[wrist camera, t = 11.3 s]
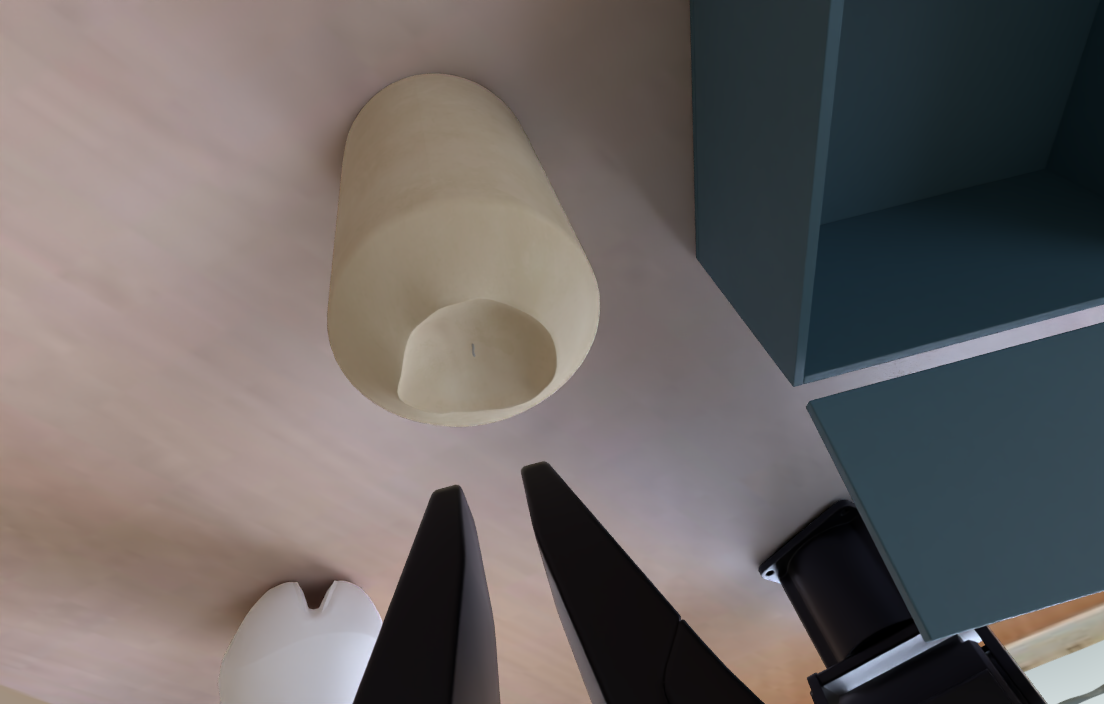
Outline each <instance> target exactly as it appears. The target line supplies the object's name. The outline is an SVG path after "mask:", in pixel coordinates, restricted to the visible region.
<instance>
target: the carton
mask: <svg viewBox="0 0 1104 704" xmlns="http://www.w3.org/2000/svg"><path fill="white" fill-rule="evenodd" d="M690 25H691V66H692V106H693V147H694V188H695V228H696V258H697V260H698V261H699V262H700V264H701V265H702V266H703V268H704V269H705V270H706V272H707V273H708V274H709V276H710V277H711V278H712V280H713V281H714V282H715V284H716V285H717V286H718V288H719V289H720V290H721V292H722V293H723V294H724V296H725V297H726V298H727V300H728V301H729V302H730V304H731V305H732V306H733V308H734V309H735V310H736V312H737V313H738V314H739V316H740V317H741V318H742V319H743V321H744V322H745V323H746V325H747V326H748V327H749V329H750V330H751V331H752V333H753V334H754V335H755V337H756V338H757V339H758V341H759V342H760V343H761V345H762V346H763V347H764V349H765V350H766V351H767V353H768V354H769V355H770V357H771V358H772V359H773V361H774V362H775V363H776V365H777V366H778V367H779V369H780V370H781V371H782V373H783V374H784V375H785V377H786V378H787V379H788V381H789V382H790V383H791V385H792V386H793V387H795V386H799V385H802V384H807V383H810V382H814V381H818V380H822V379H825V378H829V377H833V376H837V375H841V374H844V373H848V372H852V371H856V370H859V369H863V368H867V367H871V366H874V365H878V364H882V363H886V362H889V361H893V360H897V359H901V358H904V357H908V356H912V355H916V354H919V353H923V352H927V351H931V350H934V349H938V348H942V347H946V346H949V345H953V344H957V343H961V342H965V341H968V340H972V339H976V338H980V337H983V336H987V335H991V334H995V333H998V332H1002V331H1006V330H1010V329H1013V328H1017V327H1021V326H1025V325H1028V324H1032V323H1036V322H1040V321H1043V320H1047V319H1051V318H1055V317H1058V316H1062V315H1066V314H1070V313H1074V312H1077V311H1081V310H1085V309H1089V308H1092V307H1096V306H1100V305H1104V0H690Z"/></svg>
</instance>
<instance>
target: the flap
mask: <svg viewBox="0 0 1104 704" xmlns="http://www.w3.org/2000/svg"><path fill="white" fill-rule="evenodd" d="M806 409H807V410H808V412H809V414H810V416H811V418H812V420H813V422H814V424H815V426H816V428H817V430H818V432H819V434H820V436H821V438H822V440H823V442H824V444H825V446H826V448H827V450H828V452H829V454H830V456H831V458H832V460H833V462H834V464H835V466H836V468H837V470H838V472H839V474H840V476H841V478H842V480H843V482H844V484H845V486H846V488H847V490H848V492H849V494H850V496H851V498H852V499H853V501H854V503H855V505H856V507H857V509H858V511H859V513H860V515H861V517H862V519H863V521H864V523H865V525H866V527H867V529H868V531H869V533H870V535H871V537H872V539H873V541H874V543H875V545H876V547H877V549H878V551H879V553H880V555H881V557H882V559H883V561H884V563H885V565H886V567H887V569H888V571H889V573H890V575H891V577H892V579H893V581H894V583H895V585H896V586H897V588H898V590H899V592H900V594H901V596H902V598H903V600H904V602H905V604H906V606H907V608H908V610H909V612H910V614H911V616H912V618H913V620H914V622H915V624H916V626H917V628H918V630H919V632H920V634H921V636H922V638H923V640H924V642H925V643H929V642H932V641H935V640H939V639H942V638H946V637H949V636H952V635H956V634H959V633H962V632H966V631H969V630H973V629H976V628H979V627H983V626H986V625H990V624H993V623H996V622H1000V621H1003V620H1007V619H1010V618H1013V617H1017V616H1020V615H1024V614H1027V613H1030V612H1034V611H1037V610H1041V609H1044V608H1047V607H1051V606H1054V605H1058V604H1061V603H1064V602H1068V601H1071V600H1074V599H1078V598H1081V597H1085V596H1088V595H1091V594H1095V593H1098V592H1102V591H1104V322H1103V323H1099V324H1095V325H1091V326H1088V327H1084V328H1080V329H1076V330H1073V331H1069V332H1065V333H1061V334H1058V335H1054V336H1050V337H1047V338H1043V339H1039V340H1035V341H1032V342H1028V343H1024V344H1020V345H1017V346H1013V347H1009V348H1005V349H1002V350H998V351H994V352H991V353H987V354H983V355H979V356H976V357H972V358H968V359H964V360H961V361H957V362H953V363H949V364H946V365H942V366H938V367H935V368H931V369H927V370H923V371H920V372H916V373H912V374H908V375H905V376H901V377H897V378H894V379H890V380H886V381H882V382H879V383H875V384H871V385H867V386H864V387H860V388H856V389H852V390H849V391H845V392H841V393H838V394H834V395H830V396H826V397H823V398H819V399H815V400H811V401H809V402H808V404H807V406H806Z"/></svg>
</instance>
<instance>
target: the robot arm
mask: <svg viewBox="0 0 1104 704" xmlns="http://www.w3.org/2000/svg"><path fill="white" fill-rule="evenodd" d="M521 475H522V479H523V484H524V489H525V493H526V498H527V502H528V507H529V512H530V516H531V521H532V526H533V529H534V533H535V537H536V540H537V544H538V547H539V550H540V554H541V557H542V561H543V564H544V567H545V571H546V574H547V578H548V581H549V585H550V588H551V591H552V595H553V598H554V602H555V605H556V608H557V611H558V614H559V617H560V620H561V623H562V625H563V628H564V631H565V633H566V636H567V638H568V641H569V644H570V646H571V649H572V652H573V654H574V657H575V660H576V662H577V665H578V667H579V670H580V673H581V675H582V678H583V681H584V683H585V686H586V689H587V691H588V694H589V697H590V699H591V702H592V704H765V703H764V702H762V701H761V700H760V699H759V698H758V697H757V696H756V695H755V694H754V693H753V692H752V691H751V690H750V689H749V688H748V687H747V686H746V685H745V684H744V683H743V682H742V681H740V680H739V679H738V678H737V677H736V676H735V675H734V674H733V673H732V672H731V671H730V670H729V669H728V668H727V667H726V666H725V665H724V664H723V662H722V661H721V660H720V659H719V658H718V657H717V656H716V655H715V654H714V653H713V652H712V651H711V649H710V648H709V647H708V646H707V645H706V644H705V643H704V642H703V641H702V640H701V639H700V637H699V636H698V635H697V634H696V633H695V632H694V630H693V629H692V628H691V627H690V626H689V625H688V624H687V622H686V621H685V620H681V616H680V615H679V613H678V612H677V611H676V610H675V609H674V608H673V607H672V605H671V604H670V603H669V602H668V601H667V600H666V598H665V597H664V596H663V595H662V594H661V593H660V592H659V590H658V589H657V588H656V587H655V586H654V585H653V583H652V582H651V581H650V580H649V579H648V578H647V576H646V575H645V574H644V573H643V572H642V571H641V570H640V568H639V567H638V566H637V565H636V564H635V563H634V561H633V560H632V559H631V558H630V557H629V556H628V554H627V553H626V552H625V551H624V550H623V549H622V548H621V546H620V545H619V544H618V543H617V542H616V541H615V539H614V538H613V537H612V536H611V535H610V534H609V533H608V531H607V530H606V529H605V528H604V527H603V526H602V524H601V523H600V522H599V521H598V520H597V519H596V517H595V516H594V515H593V514H592V513H591V512H590V511H589V509H588V508H587V507H586V506H585V505H584V504H583V502H582V501H581V500H580V499H579V498H578V497H577V495H576V494H575V493H574V492H573V491H572V490H571V489H570V487H569V486H568V485H567V484H566V483H565V482H564V480H563V479H562V478H561V477H560V476H559V475H558V474H557V472H556V471H555V470H554V469H553V468H552V467H551V465H550V464H549V463H547V462H545V461H543V462H539V463H535V464H531V465H528V466H524V467H523V468H522V469H521ZM758 570H759V572H760V574H761V576H762V578H764V579H767V580H771V581H774V582H777V583H780V584H781V585H782V587H783V588H784V590H785V592H786V594H787V596H788V598H789V600H790V601H791V603H792V605H793V607H794V609H795V611H796V613H797V614H798V616H799V618H800V620H801V622H802V624H803V626H804V627H805V629H806V631H807V633H808V635H809V637H810V639H811V640H812V642H813V644H814V646H815V648H816V650H817V651H818V653H819V655H820V657H821V659H822V661H823V663H824V664H825V666H826V668H827V669H826V670H824V671H822V672H820V673H818V674H817V673H814V674H812V675H810V676H809V677H807V680H808V683H809V685H810V688H811V692H810V694H811V696H812V699H813V701H814V704H1047V702H1046V701H1045V700H1044V698H1043V697H1042V696H1041V694H1040V693H1039V692H1038V691H1037V689H1036V688H1035V687H1034V685H1033V684H1032V682H1031V681H1030V680H1029V678H1028V677H1027V676H1026V674H1025V673H1024V672H1023V670H1022V669H1021V668H1020V666H1019V665H1018V664H1017V662H1016V661H1015V660H1014V659H1013V657H1012V656H1011V655H1010V653H1009V652H1008V651H1007V650H1006V648H1005V647H1004V646H1003V644H1002V643H1001V642H1000V641H999V639H998V638H997V637H996V635H995V634H994V633H993V632H992V630H991V629H990V628H989V626H988V625H986V626H983V627H979V628H976V629H973V630H969V631H966V632H962V633H959V634H956V635H952V636H949V637H946V638H942V639H939V640H935V641H932V642H929V643H925V642H924V640H923V638H922V636H921V634H920V632H919V630H918V628H917V626H916V624H915V622H914V620H913V618H912V616H911V614H910V612H909V610H908V608H907V606H906V604H905V602H904V600H903V598H902V596H901V594H900V592H899V590H898V588H897V586H896V585H895V583H894V581H893V579H892V577H891V575H890V573H889V571H888V569H887V567H886V565H885V563H884V561H883V559H882V557H881V555H880V553H879V551H878V549H877V547H876V545H875V543H874V541H873V539H872V537H871V535H870V533H869V531H868V529H867V527H866V525H865V523H864V521H863V519H862V517H861V515H860V513H859V511H858V509H857V507H856V505H855V503H853V502H850V501H848V500H840V501H837V502H836V503H834V504H833V505H832V506H831V507H830V508H828V509H827V510H826V511H825V512H824V513H823V514H821V515H820V516H819V517H818V518H817V519H815V520H814V521H813V522H812V523H811V524H809V525H808V526H807V527H806V528H805V529H804V530H802V531H801V532H800V533H799V534H798V535H796V536H795V537H794V538H793V539H792V540H790V541H789V542H788V543H787V544H786V545H784V546H783V547H782V548H781V549H780V550H779V551H777V552H776V553H775V554H774V555H773V556H771V557H770V558H769V559H768V560H767V561H765V562H764V563H763V564H762V565H761V566H760V567H759V569H758ZM981 641H983V642H984V644H985V646H983V647H980V646H979V645H978V643H979V642H981ZM352 704H500V692H499V678H498V664H497V650H496V637H495V627H494V620H493V613H492V607H491V602H490V597H489V592H488V587H487V582H486V577H485V572H484V566H483V561H482V556H481V551H480V546H479V541H478V536H477V531H476V526H475V522H474V519H473V516H472V514H471V511H470V508H469V506H468V503H467V500H466V498H465V495H464V492H463V490H462V488H461V487H460V486H459V485H453V486H449V487H445V488H442V489H438V490H436V491H434V492H433V494H432V495H431V498H430V500H429V503H428V506H427V508H426V511H425V513H424V516H423V519H422V521H421V524H420V527H419V529H418V532H417V535H416V537H415V540H414V542H413V545H412V548H411V550H410V553H409V556H408V558H407V561H406V564H405V566H404V569H403V571H402V574H401V577H400V579H399V582H398V585H397V587H396V590H395V593H394V595H393V598H392V601H391V603H390V606H389V608H388V611H387V614H386V616H385V619H384V622H383V624H382V627H381V630H380V632H379V635H378V637H377V640H376V643H375V645H374V648H373V651H372V653H371V656H370V659H369V661H368V664H367V667H366V669H365V672H364V674H363V677H362V680H361V682H360V685H359V688H358V690H357V693H356V696H355V698H354V701H353V703H352Z"/></svg>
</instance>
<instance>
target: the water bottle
mask: <svg viewBox="0 0 1104 704" xmlns="http://www.w3.org/2000/svg"><path fill="white" fill-rule="evenodd" d="M382 624H383V622H382V620H381V617H380V615H379V612H378V611H377V609H376V607H375V605H374V603H373V602H372V600H371V599H370V598H369V596H368V595H367V594H366V593H365V591H364V590H363V589H362V588H361V587H359V586H357V585H355V584H353V583H350V582H347V581H335V580H334V582H333V584H332V585H331V586H330V588H329V589H328V591H327V592H326V594H325V596H324V598H323V601H322V603H321V605H320V607H319V608H317V609H310V608H308V605H307V602H306V599H305V596H304V593H303V591H302V589H301V588H300V586H299V585H298V582H286V583H283V584H280V585H278V586H276V587H274V588H272V589H270V590H268V591H267V592H266V593H265V594H264V595H263V596H262V597H261V598H260V599H259V600H258V601H257V602H256V603H255V605H254V606H253V607H252V608H251V609H250V611H249V612H248V614H247V615H246V617H245V618H244V620H243V621H242V623H241V625H240V627H239V628H238V630H237V632H236V634H235V635H234V637H233V639H232V641H231V643H230V645H229V647H228V649H227V651H226V653H225V654H224V657H223V660H222V664H221V668H220V673H219V678H218V689H219V695H220V704H352V703H353V701H354V698H355V696H356V693H357V690H358V688H359V685H360V682H361V680H362V677H363V674H364V672H365V669H366V667H367V664H368V661H369V659H370V656H371V653H372V651H373V648H374V645H375V643H376V640H377V637H378V635H379V632H380V630H381V627H382Z"/></svg>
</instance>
